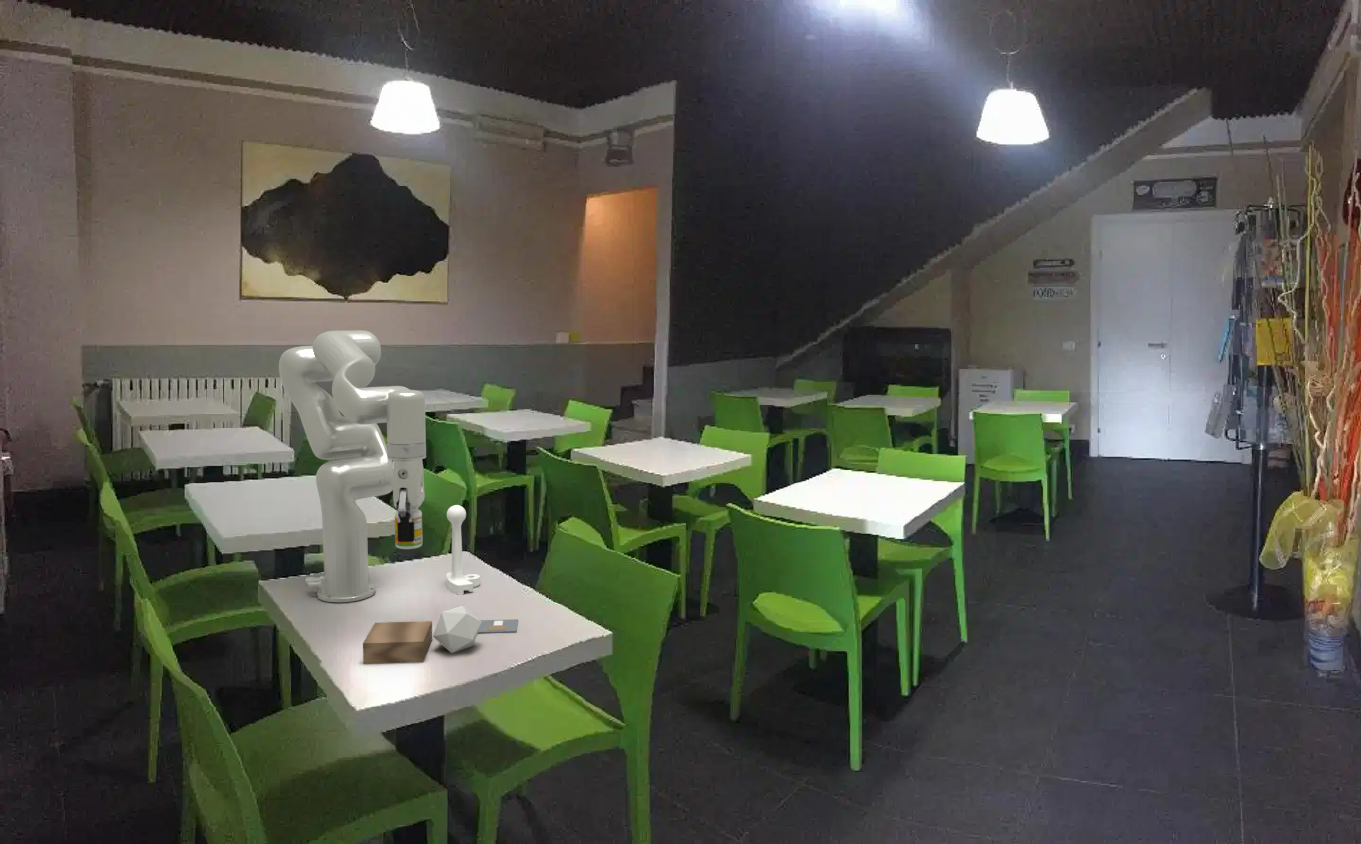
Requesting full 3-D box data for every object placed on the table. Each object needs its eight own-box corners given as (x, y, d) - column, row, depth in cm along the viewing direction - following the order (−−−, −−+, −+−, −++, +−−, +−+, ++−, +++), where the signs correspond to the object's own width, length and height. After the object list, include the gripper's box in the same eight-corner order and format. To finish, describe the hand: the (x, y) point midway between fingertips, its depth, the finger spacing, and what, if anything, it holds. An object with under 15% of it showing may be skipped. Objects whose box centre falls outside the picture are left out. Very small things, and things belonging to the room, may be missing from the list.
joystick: (442, 582, 218) (441, 501, 215) (473, 578, 221) (472, 498, 219) (453, 595, 208) (452, 511, 206) (485, 591, 212) (484, 508, 209)
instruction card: (476, 633, 185) (476, 631, 185) (480, 621, 192) (480, 619, 191) (516, 632, 186) (516, 630, 186) (518, 620, 193) (518, 618, 192)
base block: (363, 663, 168) (362, 643, 168) (375, 641, 179) (375, 622, 179) (423, 661, 170) (423, 641, 169) (432, 640, 181) (431, 621, 180)
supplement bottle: (396, 543, 188) (394, 497, 186) (422, 542, 189) (421, 496, 188) (394, 550, 182) (393, 503, 181) (422, 548, 184) (421, 502, 183)
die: (464, 639, 183) (434, 606, 180) (495, 624, 180) (465, 590, 177) (449, 667, 176) (417, 633, 173) (481, 653, 173) (449, 618, 170)
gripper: (419, 458, 175) (421, 548, 178) (431, 444, 192) (433, 526, 194) (379, 458, 174) (381, 549, 177) (395, 444, 191) (397, 527, 193)
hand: (408, 536), depth 185 cm, fingers closed on supplement bottle, 5 cm apart
